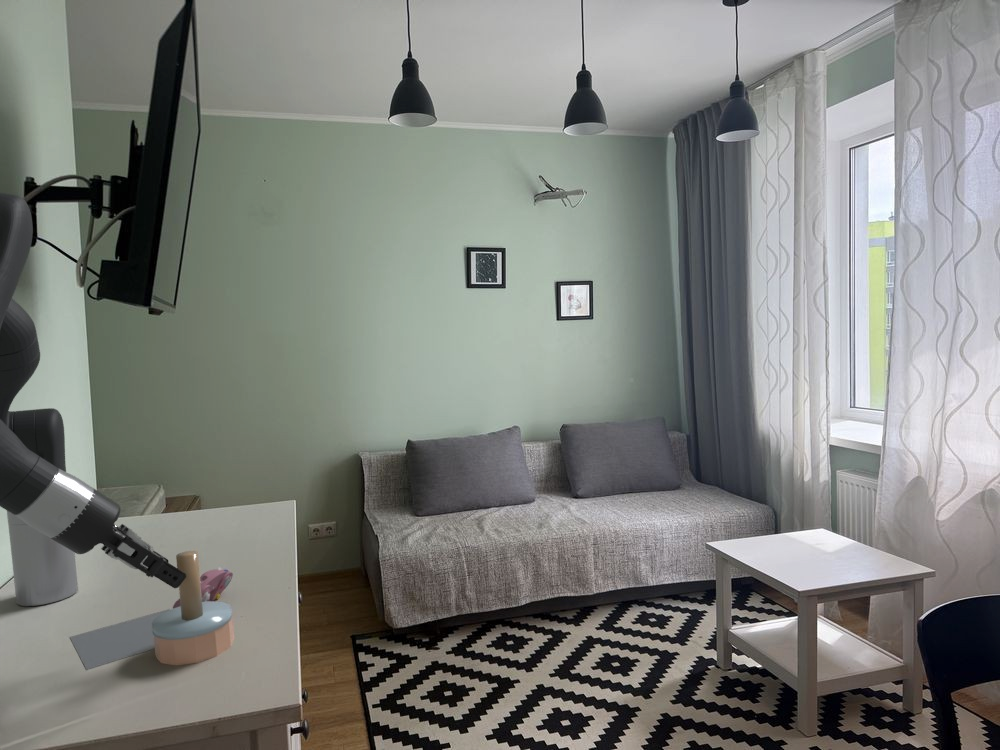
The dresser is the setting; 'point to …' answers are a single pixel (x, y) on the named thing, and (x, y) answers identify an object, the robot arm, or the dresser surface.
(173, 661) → the bowl
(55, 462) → the robot arm
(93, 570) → the dresser surface
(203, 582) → the video game controller
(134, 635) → the mat
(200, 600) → the lid
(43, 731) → the dresser surface
